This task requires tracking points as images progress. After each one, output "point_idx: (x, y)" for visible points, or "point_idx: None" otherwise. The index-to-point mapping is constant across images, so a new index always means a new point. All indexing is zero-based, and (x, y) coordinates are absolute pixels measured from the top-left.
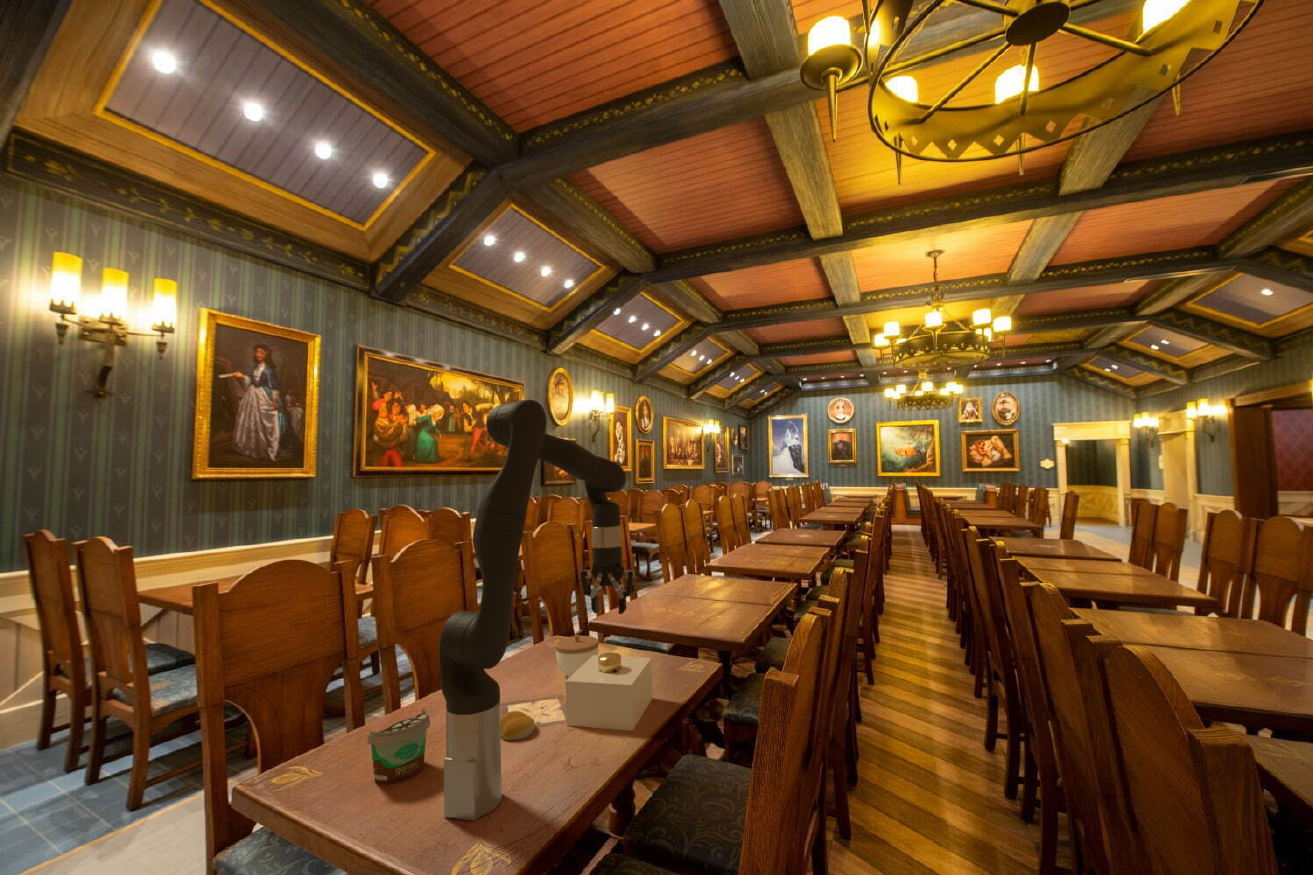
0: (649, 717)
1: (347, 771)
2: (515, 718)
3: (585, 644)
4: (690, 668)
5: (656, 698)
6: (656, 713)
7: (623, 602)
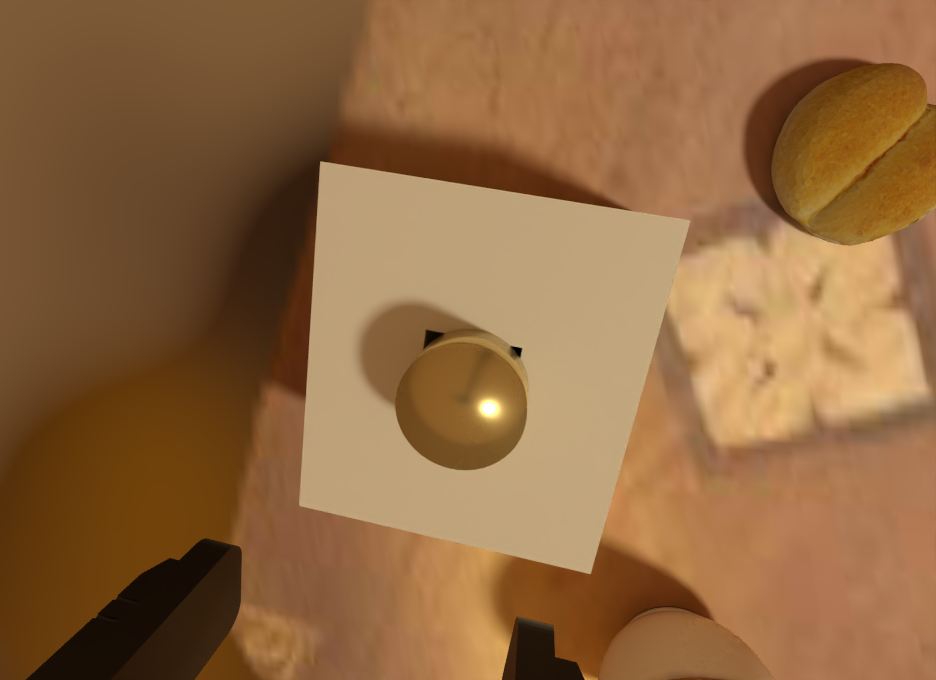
0: None
1: None
2: (889, 128)
3: None
4: (280, 632)
5: None
6: None
7: (67, 654)
